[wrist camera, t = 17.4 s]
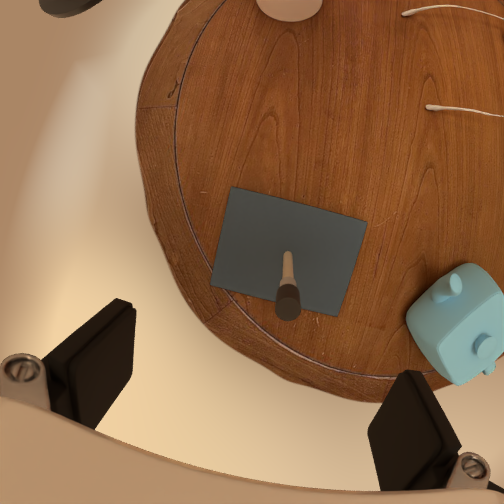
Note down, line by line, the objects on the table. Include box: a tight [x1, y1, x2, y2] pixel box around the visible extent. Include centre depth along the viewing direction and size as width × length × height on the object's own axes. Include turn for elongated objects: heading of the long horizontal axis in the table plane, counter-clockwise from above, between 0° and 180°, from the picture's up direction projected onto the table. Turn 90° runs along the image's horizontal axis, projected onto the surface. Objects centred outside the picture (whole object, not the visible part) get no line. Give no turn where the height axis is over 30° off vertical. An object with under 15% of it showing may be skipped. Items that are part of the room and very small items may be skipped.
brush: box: [275, 251, 301, 321], centre depth 29 cm, size 2×2×15 cm
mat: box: [210, 187, 367, 317], centre depth 37 cm, size 16×12×1 cm
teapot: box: [406, 263, 504, 386], centre depth 31 cm, size 12×18×12 cm
